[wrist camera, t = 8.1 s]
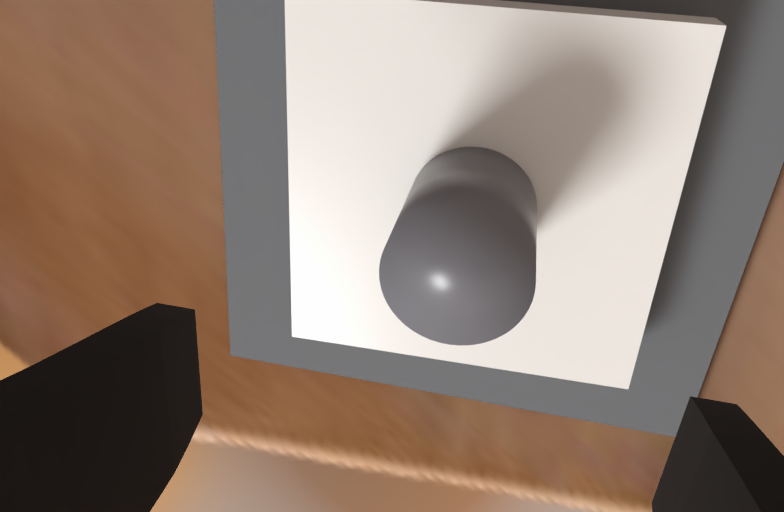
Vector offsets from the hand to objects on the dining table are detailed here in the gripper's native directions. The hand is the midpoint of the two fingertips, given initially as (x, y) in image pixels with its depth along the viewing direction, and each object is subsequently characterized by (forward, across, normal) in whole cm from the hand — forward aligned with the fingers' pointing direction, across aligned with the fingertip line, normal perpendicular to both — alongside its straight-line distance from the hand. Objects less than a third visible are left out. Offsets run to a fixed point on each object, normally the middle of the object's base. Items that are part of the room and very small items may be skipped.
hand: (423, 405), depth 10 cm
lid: (+9, 0, 0) cm, 9 cm away
